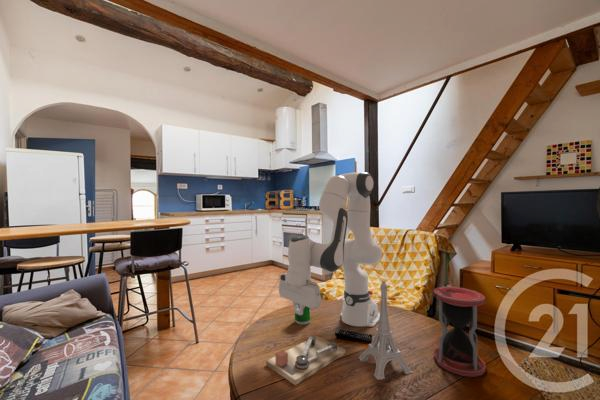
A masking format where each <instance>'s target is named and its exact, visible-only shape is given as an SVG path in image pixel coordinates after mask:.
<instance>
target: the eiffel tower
mask: <svg viewBox="0 0 600 400" xmlns="http://www.w3.org/2000/svg"><path fill="white" fill-rule="evenodd" d="M379 286H380V288H379V291H380V309H379V312H380V316H379V321H378V322H377V323H378V326H377V328H376V329H375V330H376V333H375V335H374V338H373V340H372V341H371V343H369V344H368V347H367V348H366V349H365V350H364V351H363V353H362V354H361V355H359V356H358V357H357V358H358V359H359V361H360V362H362V363H363V362H368V361H369V357H371V356H373V357H374V360H375V372H374V374H373V376H374V377H375V378H376V379H377V381H379V380H384V379H386V377H385V368H386V366H387V363H388V362H390V361H396V362H398V365H400V370H401V371H402V372H403V373H404V374H405V375H409V374H413V373H414V371H412V370H411V368H410V367H409V366H408V364H407V362H406V361H405V359H404V358H403V356H402V355H401V353H402V351H400V350H399V349H398V348H397V346H396V344H395V341H394V339H393V338H394V337H393V336H392V334H393V331H391V326H390V321H389V311H388V309H389V308H388V298H387V297H388V296H387V295H388V291H389V289H388V285H387V284H386V280H384V279H383V280H382V281H381V284H380V285H379Z"/></svg>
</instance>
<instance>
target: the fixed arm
mask: <svg viewBox="0 0 600 400" xmlns="http://www.w3.org/2000/svg"><path fill="white" fill-rule="evenodd" d="M337 346H338V344H337V343H336V342H333V341H332V342H330V343H329V344H328V346H327V347H325V348H322V349H320V350H318V351H316V355H315V356H313V357H311V358H309V359H308V363H307V364H306V365H298V364H297V363H296V362H295V367H296V368H297V369H299V370H305V369H307V368H309V363H311V362H313V361H315V360H317V359H320V358H322V357H324V356H326V355H329V354H331V353H333V352H335V351H337Z"/></svg>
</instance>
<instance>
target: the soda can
mask: <svg viewBox="0 0 600 400" xmlns="http://www.w3.org/2000/svg"><path fill="white" fill-rule="evenodd" d="M298 306H299V304H298ZM299 308H300V306H299ZM294 322H295V323H296V324H297V325H301V326H304V325H305V326H306V325H308V324H309V323H310V322H311V308H309V307H306V306H305V308H304V310H303V315H298V314H296V313H295V312H294Z"/></svg>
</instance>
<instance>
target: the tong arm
mask: <svg viewBox="0 0 600 400" xmlns="http://www.w3.org/2000/svg"><path fill="white" fill-rule="evenodd" d="M307 340H308V342H307V344H306V346H305V350H304V352H303V354H302V355H300V356H297V358H296V363H297V364H298V365H306V364H307V363H308V357H307V356H306V355H307V354H309V351H310V349H311V346H312V345H315V343H316V337H315V336H312V335H311V336H310V335H309V337H308V339H307Z"/></svg>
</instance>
